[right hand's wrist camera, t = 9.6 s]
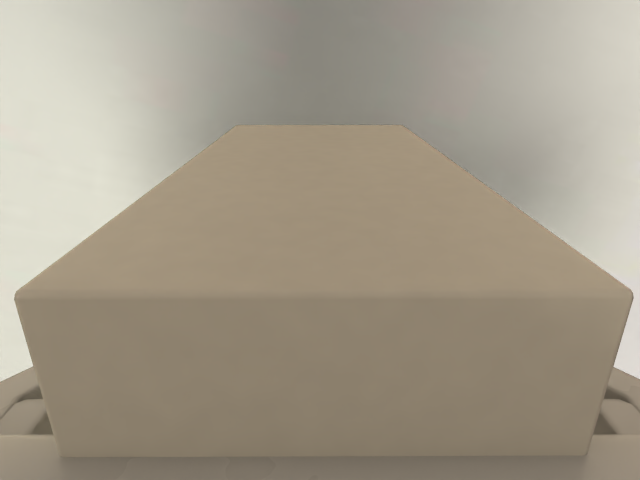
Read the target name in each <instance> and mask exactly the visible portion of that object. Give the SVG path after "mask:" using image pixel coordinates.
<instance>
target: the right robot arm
mask: <svg viewBox="0 0 640 480" xmlns="http://www.w3.org/2000/svg"><path fill="white" fill-rule="evenodd" d="M0 480H640V379H638V378H636V377H634V376H632V375H629V374H627V373H625V372H623V371H621V370H619V369H617V368H614V367H613V369H612V372H611V376H610V379H609V382H608V386H607V389H606V392H605V396H604V399H603V403H602V406H601V409H600V413H599V416H598V419H597V423H596V426H595V430H594V433H593V436H592V440H591V443H590V446H589V450H588V453H587V454H586V455H584V456H306V457H61V456H59V452H58V449H57V446H56V442H55V439H54V435H53V432H52V428H51V425H50V421H49V418H48V414H47V411H46V408H45V404H44V401H43V397H42V394H41V390H40V387H39V383H38V380H37V376H36V373H35V369H34V366H33V367H31V368H29V369H27V370H25V371H22V372H20V373H18V374H16V375H14V376H12V377H10V378H8V379H5V380H3V381H1V382H0Z"/></svg>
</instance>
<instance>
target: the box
mask: <svg viewBox="0 0 640 480" xmlns="http://www.w3.org/2000/svg"><path fill="white" fill-rule="evenodd" d="M14 300H15V304H16V307H17V311H18V314H19V318H20V321H21V324H22V328H23V331H24V335H25V338H26V342H27V345H28V349H29V352H30V356H31V359H32V363H33V366H34V369H35V373H36V376H37V380H38V383H39V387H40V390H41V394H42V397H43V401H44V404H45V408H46V411H47V414H48V418H49V421H50V425H51V428H52V432H53V435H54V439H55V442H56V446H57V449H58V452H59V456H61V457H306V456H584V455H586V454H587V453H588V450H589V446H590V443H591V440H592V436H593V433H594V430H595V426H596V423H597V419H598V416H599V413H600V409H601V406H602V403H603V399H604V396H605V392H606V389H607V386H608V382H609V379H610V376H611V372H612V369H613V365H614V362H615V359H616V355H617V352H618V349H619V345H620V342H621V338H622V335H623V332H624V328H625V325H626V322H627V318H628V315H629V311H630V308H631V305H632V301H633V292H632V291H631V289H629V288H628V287H626V286H625V285H624V284H622V283H621V282H619V281H618V280H617V279H615V278H614V277H613V276H611V275H610V274H608V273H607V272H606V271H604V270H603V269H601V268H600V267H599V266H597V265H596V264H594V263H593V262H592V261H590V260H589V259H588V258H586V257H585V256H583V255H582V254H581V253H579V252H578V251H576V250H575V249H574V248H572V247H571V246H570V245H568V244H567V243H565V242H564V241H563V240H561V239H560V238H558V237H557V236H556V235H554V234H553V233H551V232H550V231H549V230H547V229H546V228H545V227H543V226H542V225H540V224H539V223H538V222H536V221H535V220H533V219H532V218H531V217H529V216H528V215H526V214H525V213H524V212H522V211H521V210H520V209H518V208H517V207H515V206H514V205H513V204H511V203H510V202H508V201H507V200H506V199H504V198H503V197H501V196H500V195H499V194H497V193H496V192H495V191H493V190H492V189H490V188H489V187H488V186H486V185H485V184H483V183H482V182H481V181H479V180H478V179H477V178H475V177H474V176H472V175H471V174H470V173H468V172H467V171H465V170H464V169H463V168H461V167H460V166H458V165H457V164H456V163H454V162H453V161H452V160H450V159H449V158H447V157H446V156H445V155H443V154H442V153H440V152H439V151H438V150H436V149H435V148H433V147H432V146H431V145H429V144H428V143H427V142H425V141H424V140H422V139H421V138H420V137H418V136H417V135H415V134H414V133H413V132H411V131H410V130H408V129H407V128H406V127H404V126H403V125H237V126H235V127H234V128H232V129H231V130H230V131H228V132H227V133H226V134H224V135H223V136H222V137H220V138H219V139H218V140H216V141H215V142H214V143H212V144H211V145H210V146H208V147H207V148H206V149H204V150H203V151H202V152H200V153H199V154H198V155H196V156H195V157H194V158H193V159H191V160H190V161H189V162H187V163H186V164H185V165H183V166H182V167H181V168H179V169H178V170H177V171H175V172H174V173H173V174H171V175H170V176H169V177H167V178H166V179H165V180H163V181H162V182H161V183H159V184H158V185H157V186H155V187H154V188H153V189H151V190H150V191H149V192H147V193H146V194H145V195H143V196H142V197H141V198H139V199H138V200H137V201H135V202H134V203H133V204H132V205H130V206H129V207H128V208H126V209H125V210H124V211H122V212H121V213H120V214H118V215H117V216H116V217H114V218H113V219H112V220H110V221H109V222H108V223H106V224H105V225H104V226H102V227H101V228H100V229H98V230H97V231H96V232H94V233H93V234H92V235H90V236H89V237H88V238H86V239H85V240H84V241H82V242H81V243H80V244H78V245H77V246H76V247H74V248H73V249H72V250H70V251H69V252H68V253H67V254H65V255H64V256H63V257H61V258H60V259H59V260H57V261H56V262H55V263H53V264H52V265H51V266H49V267H48V268H47V269H45V270H44V271H43V272H41V273H40V274H39V275H37V276H36V277H35V278H33V279H32V280H31V281H29V282H28V283H27V284H25V285H24V286H23V287H21V288H20V289H19V290H17V291H16V293H15V298H14Z"/></svg>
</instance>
